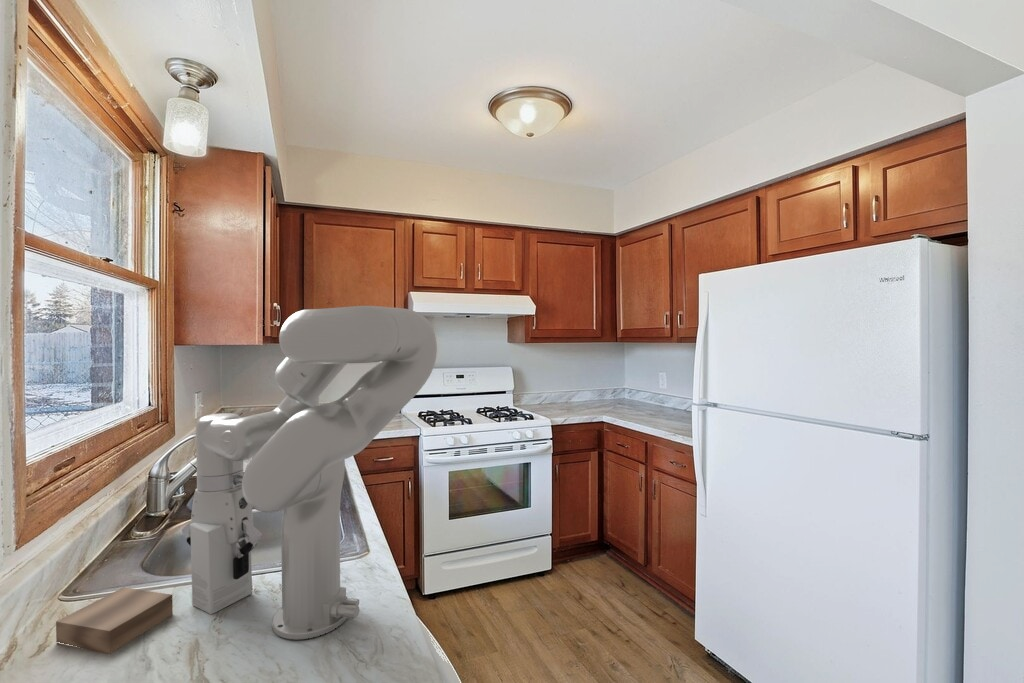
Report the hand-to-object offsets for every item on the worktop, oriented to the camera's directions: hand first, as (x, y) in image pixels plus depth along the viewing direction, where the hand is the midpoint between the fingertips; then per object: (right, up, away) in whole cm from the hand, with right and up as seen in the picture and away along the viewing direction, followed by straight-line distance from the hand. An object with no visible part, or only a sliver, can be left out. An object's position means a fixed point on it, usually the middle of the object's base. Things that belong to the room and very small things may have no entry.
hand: (221, 573), depth 93 cm
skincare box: (0, -5, 0) cm, 5 cm away
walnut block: (-13, -6, -8) cm, 16 cm away
